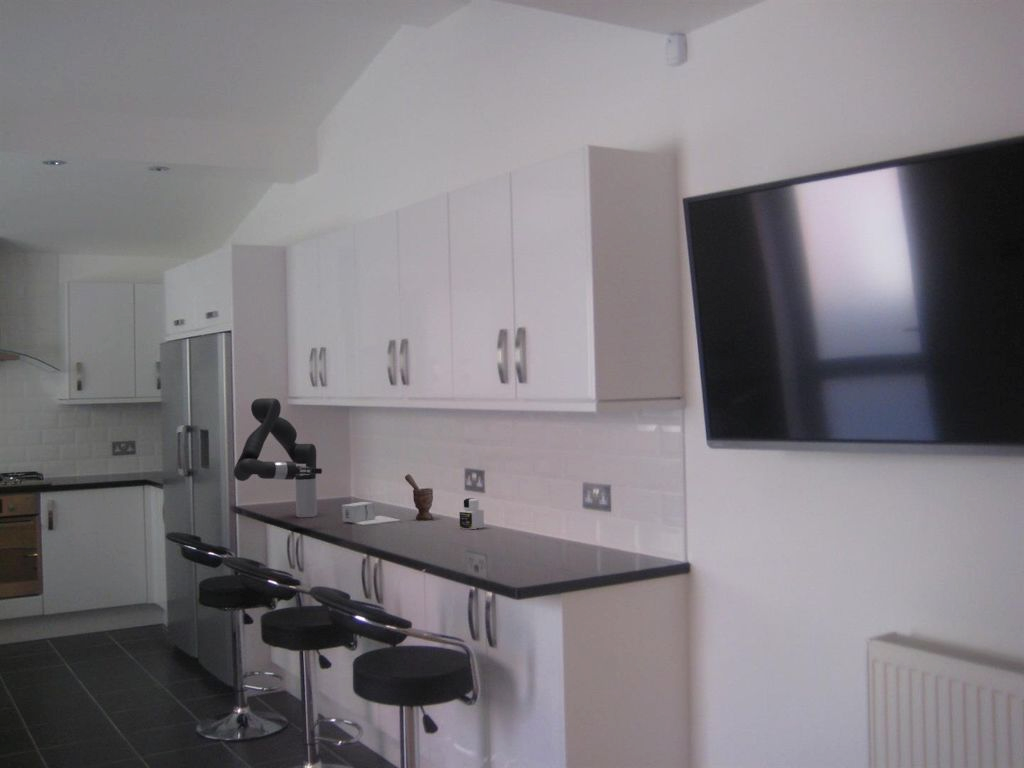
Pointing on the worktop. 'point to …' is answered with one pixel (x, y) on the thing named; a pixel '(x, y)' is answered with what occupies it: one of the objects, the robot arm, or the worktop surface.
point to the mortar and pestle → (421, 499)
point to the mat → (377, 521)
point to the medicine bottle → (471, 515)
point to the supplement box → (358, 512)
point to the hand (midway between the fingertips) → (321, 471)
